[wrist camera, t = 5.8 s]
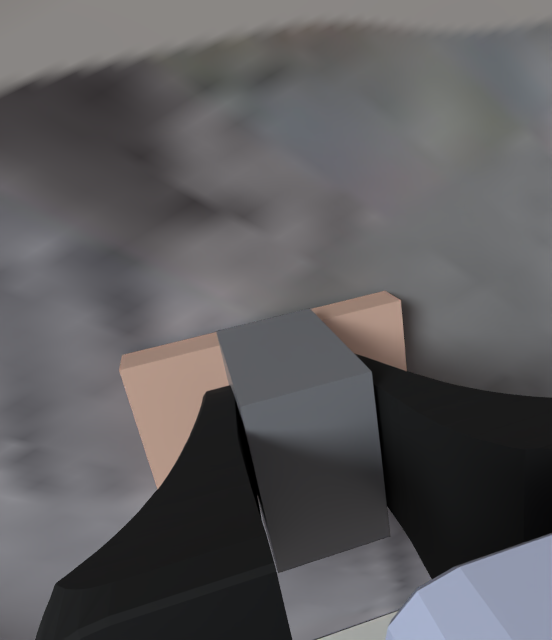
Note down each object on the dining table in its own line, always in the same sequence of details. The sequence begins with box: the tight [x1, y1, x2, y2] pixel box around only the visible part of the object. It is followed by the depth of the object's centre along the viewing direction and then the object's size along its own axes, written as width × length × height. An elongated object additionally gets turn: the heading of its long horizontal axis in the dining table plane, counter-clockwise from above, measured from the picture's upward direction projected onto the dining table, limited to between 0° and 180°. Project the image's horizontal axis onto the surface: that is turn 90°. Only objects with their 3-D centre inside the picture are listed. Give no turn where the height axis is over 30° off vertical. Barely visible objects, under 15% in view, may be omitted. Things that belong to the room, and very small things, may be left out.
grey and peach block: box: [119, 291, 407, 573], centre depth 12 cm, size 8×5×5 cm
